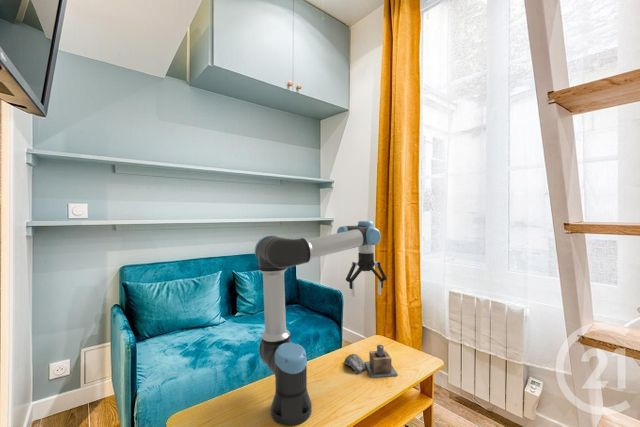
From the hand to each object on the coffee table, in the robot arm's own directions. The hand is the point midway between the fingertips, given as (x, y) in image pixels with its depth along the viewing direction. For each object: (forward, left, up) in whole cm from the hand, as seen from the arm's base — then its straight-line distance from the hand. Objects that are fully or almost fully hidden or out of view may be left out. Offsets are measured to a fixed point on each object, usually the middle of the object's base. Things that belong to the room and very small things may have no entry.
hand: (366, 294), depth 146 cm
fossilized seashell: (-7, -5, -33) cm, 34 cm away
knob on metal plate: (+4, -9, -33) cm, 34 cm away
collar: (+4, -9, -32) cm, 33 cm away
